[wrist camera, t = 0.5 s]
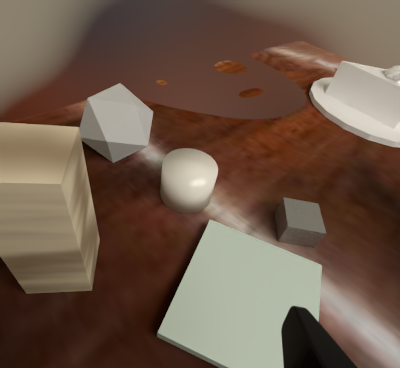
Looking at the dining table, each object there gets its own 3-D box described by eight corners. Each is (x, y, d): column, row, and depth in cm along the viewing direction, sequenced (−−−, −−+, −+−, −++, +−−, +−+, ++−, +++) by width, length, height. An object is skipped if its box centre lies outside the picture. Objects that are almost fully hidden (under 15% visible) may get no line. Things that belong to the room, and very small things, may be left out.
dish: (422, 108, 63) (463, 57, 55) (441, 168, 46) (504, 108, 38) (317, 72, 68) (341, 22, 60) (299, 115, 51) (328, 53, 43)
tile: (307, 410, 20) (313, 409, 19) (156, 336, 22) (157, 332, 21) (317, 270, 28) (321, 265, 27) (208, 225, 30) (210, 219, 29)
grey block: (313, 248, 30) (326, 233, 28) (277, 242, 30) (288, 226, 28) (306, 219, 33) (318, 203, 31) (274, 213, 33) (283, 197, 31)
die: (160, 167, 36) (169, 92, 35) (108, 168, 29) (116, 71, 27) (116, 159, 40) (122, 91, 39) (60, 157, 33) (65, 73, 31)
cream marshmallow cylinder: (199, 222, 30) (206, 194, 27) (150, 201, 31) (152, 172, 28) (217, 187, 34) (224, 160, 31) (173, 170, 35) (176, 142, 32)
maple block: (91, 290, 23) (60, 184, 14) (26, 293, 22) (-53, 181, 13) (99, 239, 27) (78, 127, 17) (43, 240, 26) (-11, 121, 16)
